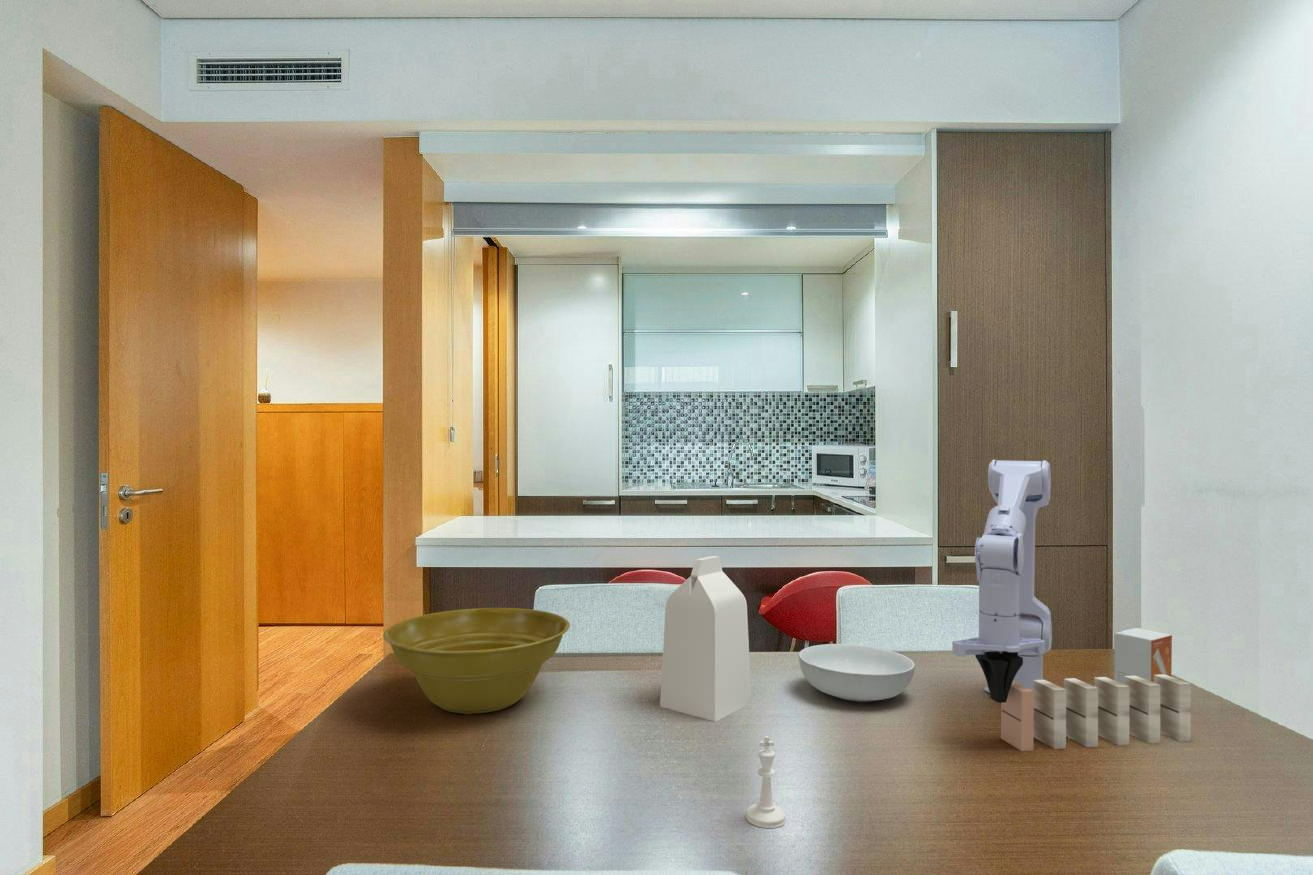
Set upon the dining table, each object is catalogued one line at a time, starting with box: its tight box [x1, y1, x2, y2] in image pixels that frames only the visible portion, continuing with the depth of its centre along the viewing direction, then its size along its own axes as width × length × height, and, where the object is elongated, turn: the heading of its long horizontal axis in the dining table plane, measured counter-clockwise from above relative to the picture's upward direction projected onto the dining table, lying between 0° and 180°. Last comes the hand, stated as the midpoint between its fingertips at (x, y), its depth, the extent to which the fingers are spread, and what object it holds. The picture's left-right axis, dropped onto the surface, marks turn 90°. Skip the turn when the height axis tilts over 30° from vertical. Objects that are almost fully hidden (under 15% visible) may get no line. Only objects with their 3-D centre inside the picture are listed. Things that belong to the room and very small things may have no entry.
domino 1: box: [1033, 679, 1067, 750], centre depth 118 cm, size 5×2×9 cm, turn 9°
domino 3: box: [1093, 676, 1130, 746], centre depth 119 cm, size 5×2×9 cm, turn 9°
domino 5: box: [1154, 674, 1192, 742], centre depth 121 cm, size 5×2×9 cm, turn 9°
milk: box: [659, 555, 752, 722], centre depth 133 cm, size 12×12×26 cm
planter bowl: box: [382, 607, 571, 715], centre depth 134 cm, size 32×32×13 cm
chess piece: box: [745, 735, 787, 829], centre depth 92 cm, size 5×5×10 cm
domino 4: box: [1124, 676, 1161, 744], centre depth 120 cm, size 5×2×9 cm, turn 9°
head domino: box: [1000, 681, 1034, 752], centre depth 117 cm, size 5×2×9 cm, turn 10°
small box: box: [1113, 627, 1173, 684], centre depth 135 cm, size 8×6×13 cm
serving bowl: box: [798, 643, 916, 703], centre depth 140 cm, size 21×21×7 cm
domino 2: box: [1063, 677, 1099, 748], centre depth 118 cm, size 5×2×9 cm, turn 9°
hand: (998, 700), depth 116 cm, fingers closed
